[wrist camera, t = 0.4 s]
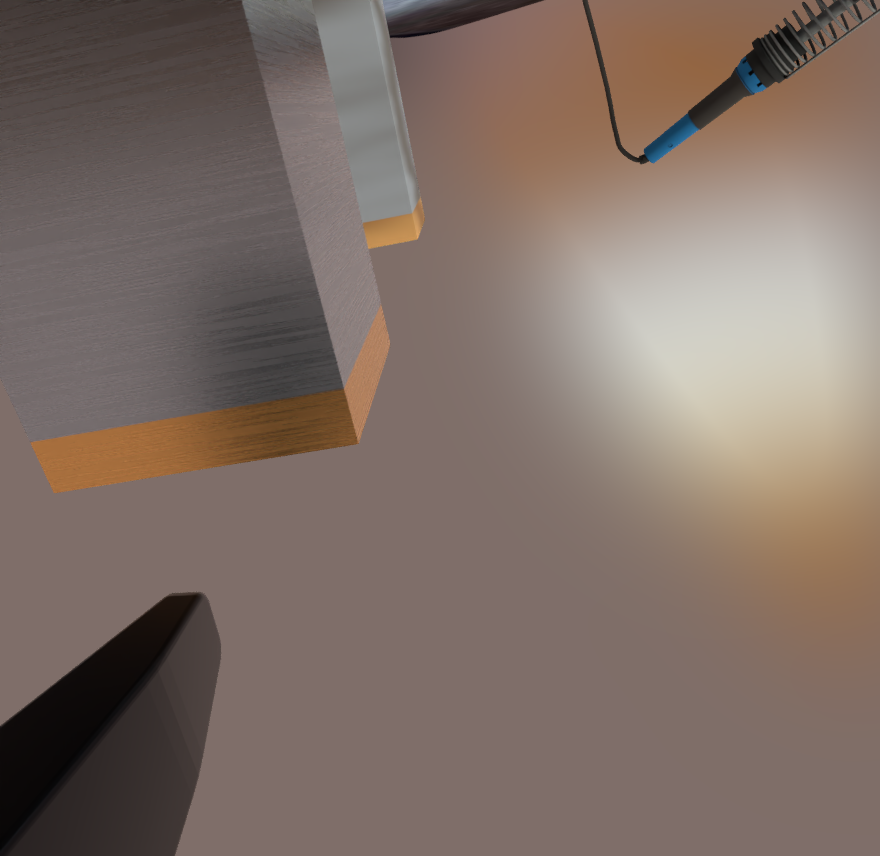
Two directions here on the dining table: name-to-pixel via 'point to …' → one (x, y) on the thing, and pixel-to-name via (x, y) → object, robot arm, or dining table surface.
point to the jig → (371, 118)
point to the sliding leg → (178, 239)
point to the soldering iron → (745, 71)
